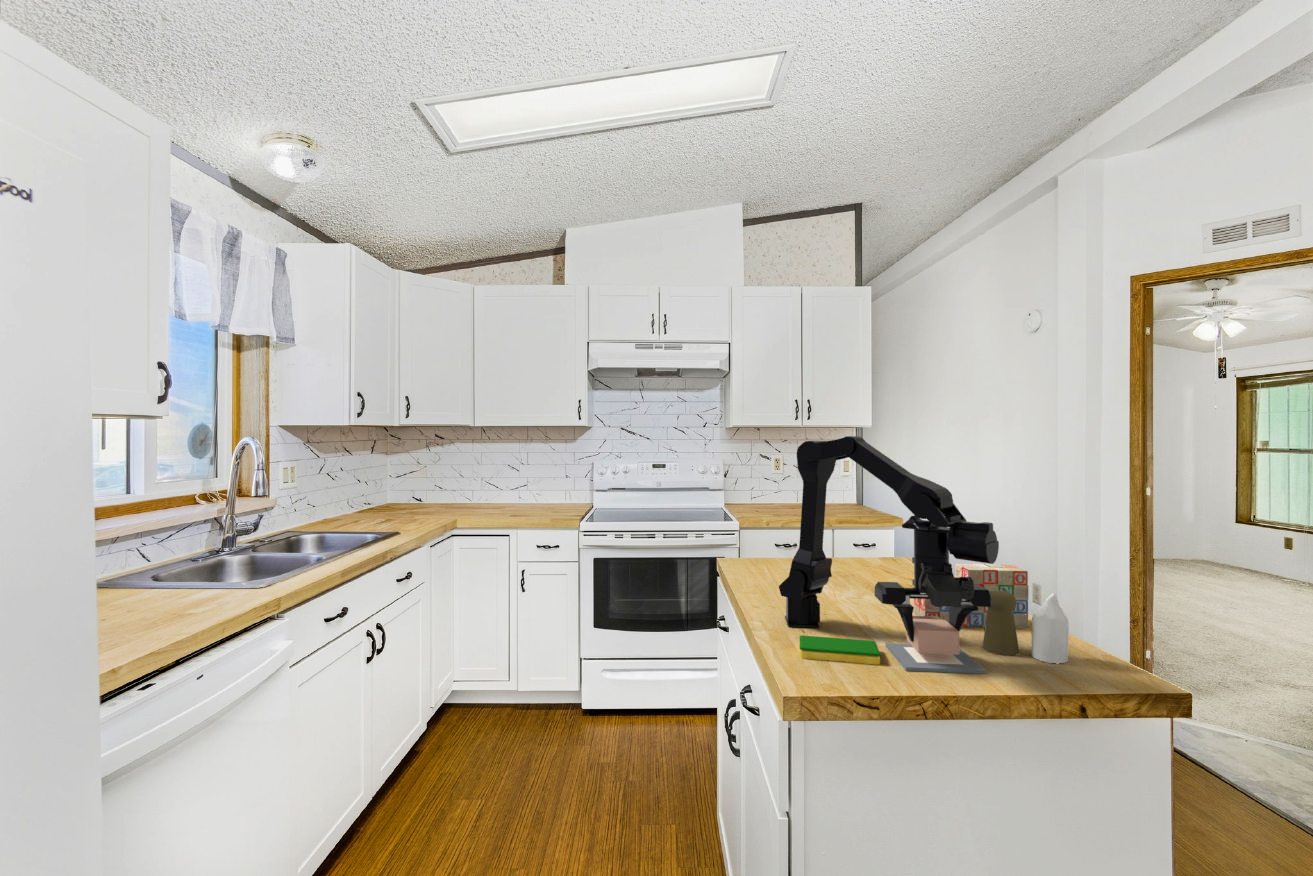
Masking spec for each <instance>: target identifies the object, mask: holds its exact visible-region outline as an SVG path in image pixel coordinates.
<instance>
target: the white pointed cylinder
mask: <svg viewBox="0 0 1313 876" xmlns="http://www.w3.org/2000/svg"><path fill="white" fill-rule="evenodd" d="M1069 623H1070V622H1069V618H1068V617H1067V615H1066V614H1065V612H1064V610H1063V608H1062V607H1061V606H1060V602H1059V599H1058V596H1057V595H1056V593H1055V592H1052V593H1051V594H1050V595H1049V596H1048V597H1047V598H1046V600H1045V601H1044V602H1043V603H1042V604H1041V606H1040V607H1039V608H1038V609H1037V610H1036V612H1035V613H1033V615H1032V617H1031V657H1032V658H1034V659H1036V660H1038V661H1040V662H1043V661H1044V662H1043V663H1046V662H1047V663H1048V664H1051V663H1056V664H1055V665H1058V664H1057V663H1064V664H1066V663H1067V662H1068V661H1069V660H1068V659H1069V658H1068V656H1069V640H1070V639H1069V636H1070V635H1069V629H1070V628H1069V626H1070V625H1069ZM1065 662H1066V663H1065Z"/></svg>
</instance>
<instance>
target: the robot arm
mask: <svg viewBox="0 0 1313 876" xmlns="http://www.w3.org/2000/svg"><path fill="white" fill-rule="evenodd" d="M847 458H849V459H850V460H852V461H853V462H855V463H856V464H857V465H859V466H860V467H862V468H863V469H865V470H866V471H867V472H868V473H870V474H872V476H873V477H875V478H876V479H878V480H879V481H881V482H882V483H884V484H885V485H886V486H888V487H889V488H890V489H892V490H893V491H894V492H895V494H896V495H897V497H898V498H899V500H900V502H901V503H902V505H904V507H906V509H907V510H908V511H910V513H911V514H912V515H910V517H909V518H908V520H906V521H905V522H904V523H902V524H901V528H902V529H907V530H913V550H914V551H913V557H912V558H911V560H912V561H911V563H912V564H913V570H914V571H913V574H914V575H913V576H914V577H913V578H914V579H911V580H912V584H911V585H913V586H914V587H904V586H902V585H901V584H900V583H898V582H897V581H877V582H876V583H875V586H874V597H875V598H876V599H877V600H878V601H879V602H881V604H883V605H892V607H894V609H896V610H897V611H898V613H899V615H900V618H901V621H902V623H903V625H904V628H905V631H906V635H907V634H908V636H909V639H910V640H911V641H914V627H913V616H914V615H913V614H914V613H913V612H914V605H912V604H911V599H913V600H914V599H930V602H931V604H932V605H934V606H936V607H943V606H949V624H951V625H952V626H953V627H954V628H955V629H957V630H958V631H959V632H961V629H962V627H963V626H962V624H963V622H964V620H965V618H966V617H967V615H968V614H970V613H971V612H972V611H977V610H978V607H992V606H993V597H992V594H991V592H990V591H989V590H987V589H986V588H984V587H982V586H980V585H978V584H974V581H973V580H972V579H971V577H955V575H954V573H953V567H952V565H953V564H951V563H950V555H952V556H953V557H954V558H955V559H957V560H961V561H962V560H964V561H970V562H977V563H981V564H982V563H983V564H995V563H996V561H997V558H998V556H999V547H1000V543H999V540H998V537H997V534H996V532H995V530H994V523H992V522H983V521H982V522H972V521H967V519H966V518H965V516H964V515H963V514H962V513H961V511H960V510H959V508H958V507H957V505H955V503H954V499H953V494H952V493H951V491H950V490H949V489H948V488H946V487H944V486H943V485H940V484H938V483H936V482H935V481H932V480H930V479H927V478H924V477H921V476H918V475H916V474H913V473H912V472H910V471H909V470H907V469H906V468H904V467H903V466H901V465H900V464H898V463H897V462H895V461H894V460H892V458H890V457H889V456H886V455H885V454H884V453H882V452H881V451H880V450H878V449H876V448H875V447H874V446H872V445H871V444H870V443H868V442H866V440H865V439H864V438H863V437H860V436H853V435H852V436H851V435H848V436H847V435H846V436H844V437H841V438H838V439H830V440H806V441H804V442H802V443H801V444H800V445H799V446H798V447H797V450H796V463H797V464H796V465H797V471H798V473H799V475H800V477H801V479H802V496H801V497H802V499H801V502H802V503H801V513H800V514H801V516H800V527H799V529H800V530H799V531H800V532H799V545H798V549H797V551H796V553H795V555H794V557H793V558H792V559H791V564H790V569H789V573H788V577H787V578H786V579H784V580H783V581H782V583H780V584H779V585H778V590H779V593H780V596H781V597H785V615H784V620H785V622H786V624H787V627H789V628H790V627H791V628H819V627H820V622H821V603H820V602H819V600H818V596H817V594H822V591H823V588H824V586H826V585H827V584H828V582H829V579H830V578H832V577H833V576H832V564H833V558H832V557H831V558H830V557H826V554H825V552H824V548H823V547H824V532H825V531H824V529H825V515H826V500H827V486H828V482H829V480H830V478H831V476H832V474H833V473H834V471H835V467H836V463H837V461H840V460H844V459H847ZM921 593H926V594H921Z"/></svg>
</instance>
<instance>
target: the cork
mask: <svg viewBox="0 0 1313 876" xmlns="http://www.w3.org/2000/svg"><path fill="white" fill-rule="evenodd" d="M990 592H991V594H992V597H993V606H992V607H988V611H987V618H986V626H985V627H984V634H983V641H982V649H983V650H984V651H986V652H987V653H988V652H989V653H991V654H994V655H998V656H1006V657H1009V656H1010V657H1012V656H1013V657H1014V656H1019V655H1020V647H1019V641H1018V634H1017V629H1016V627H1015V621H1014V614H1013V610H1014V609H1015V608H1016V598H1015V597H1014V595H1013V594H1011V593H1009V592H1005V591H1000V590H992V591H990ZM1018 654H1019V655H1018Z"/></svg>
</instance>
